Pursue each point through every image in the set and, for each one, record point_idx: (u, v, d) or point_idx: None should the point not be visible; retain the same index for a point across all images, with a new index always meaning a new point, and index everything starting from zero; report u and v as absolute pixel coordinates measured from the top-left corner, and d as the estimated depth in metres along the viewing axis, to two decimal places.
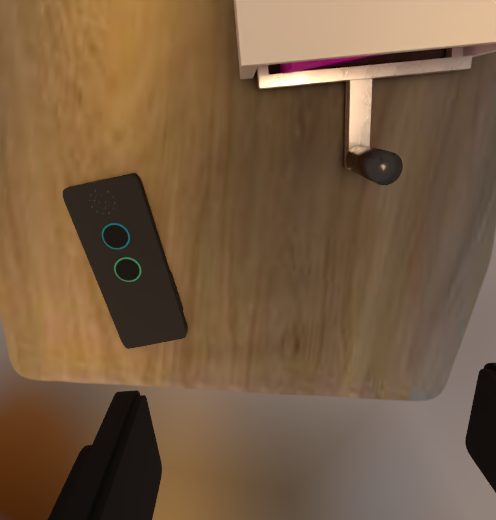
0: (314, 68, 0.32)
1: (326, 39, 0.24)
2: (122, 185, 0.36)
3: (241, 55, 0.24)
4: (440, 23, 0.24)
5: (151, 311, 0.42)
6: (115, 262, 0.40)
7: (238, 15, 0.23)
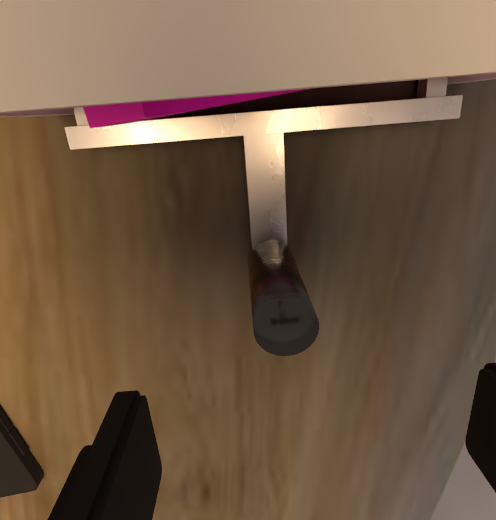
0: (186, 112, 0.18)
1: (81, 58, 0.09)
2: None
3: None
4: (379, 22, 0.09)
5: None
6: None
7: None
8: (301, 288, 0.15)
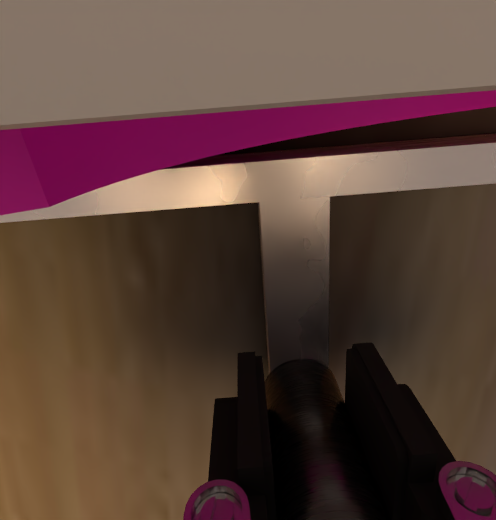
0: None
1: None
2: None
3: None
4: None
5: None
6: None
7: None
8: None
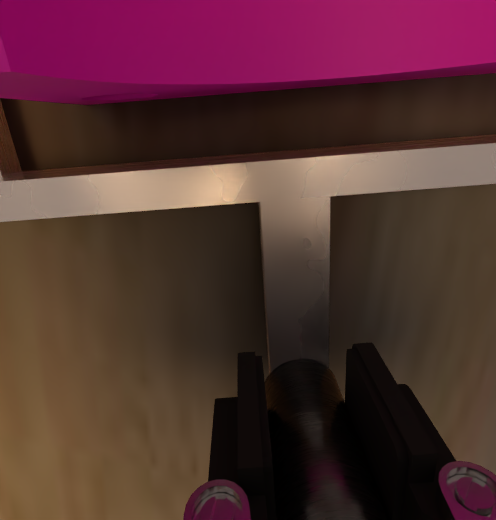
0: (165, 94, 0.09)
1: None
2: None
3: None
4: None
5: None
6: None
7: None
8: None
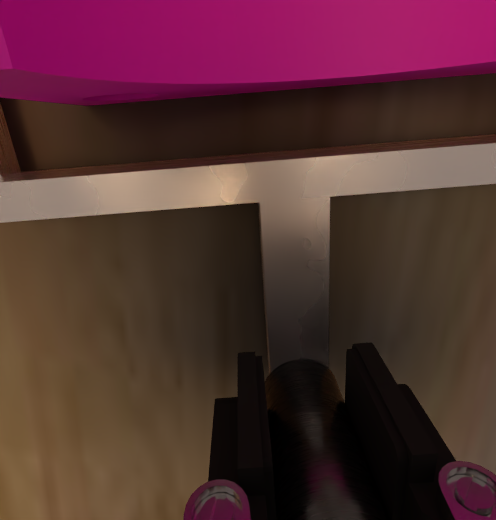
0: (167, 94, 0.09)
1: None
2: None
3: None
4: None
5: None
6: None
7: None
8: None
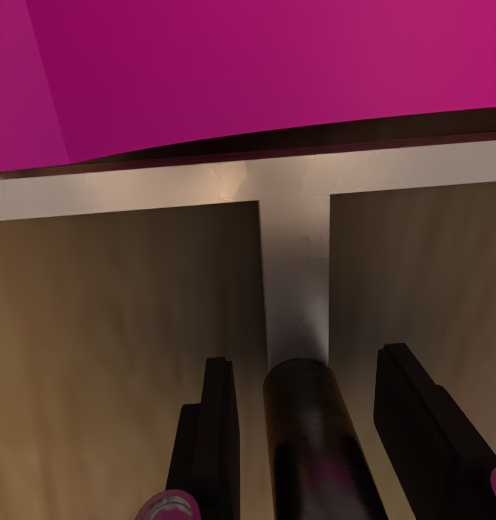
0: None
1: None
2: None
3: None
4: None
5: None
6: None
7: None
8: None
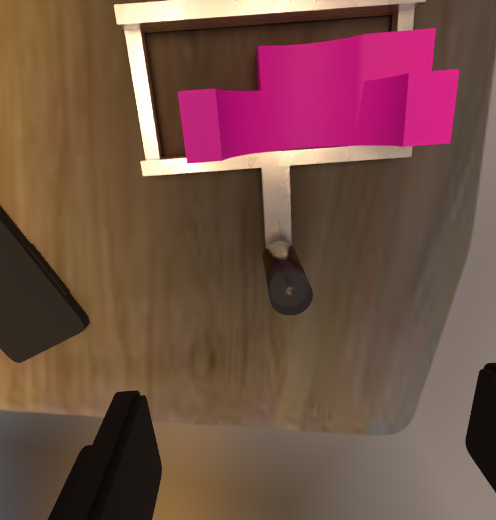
0: None
1: None
2: None
3: None
4: None
5: (24, 304, 0.30)
6: None
7: None
8: (301, 271, 0.23)
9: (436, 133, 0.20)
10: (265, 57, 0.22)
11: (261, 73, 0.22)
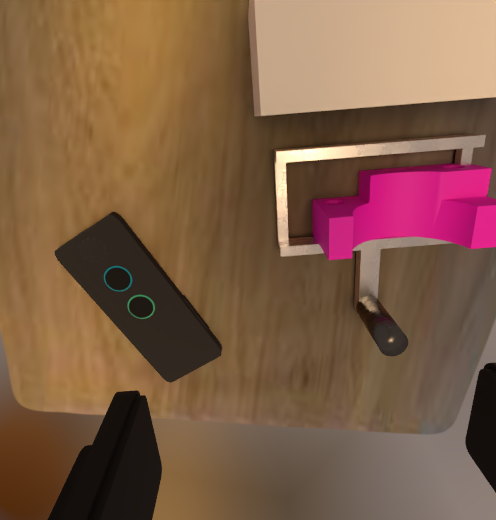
0: None
1: (348, 91, 0.23)
2: (105, 228, 0.36)
3: (261, 105, 0.24)
4: (466, 76, 0.23)
5: (179, 339, 0.41)
6: (127, 303, 0.39)
7: (259, 66, 0.23)
8: (397, 325, 0.34)
9: (492, 240, 0.31)
10: (374, 182, 0.33)
11: (370, 192, 0.33)
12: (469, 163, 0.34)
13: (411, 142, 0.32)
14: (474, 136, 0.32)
